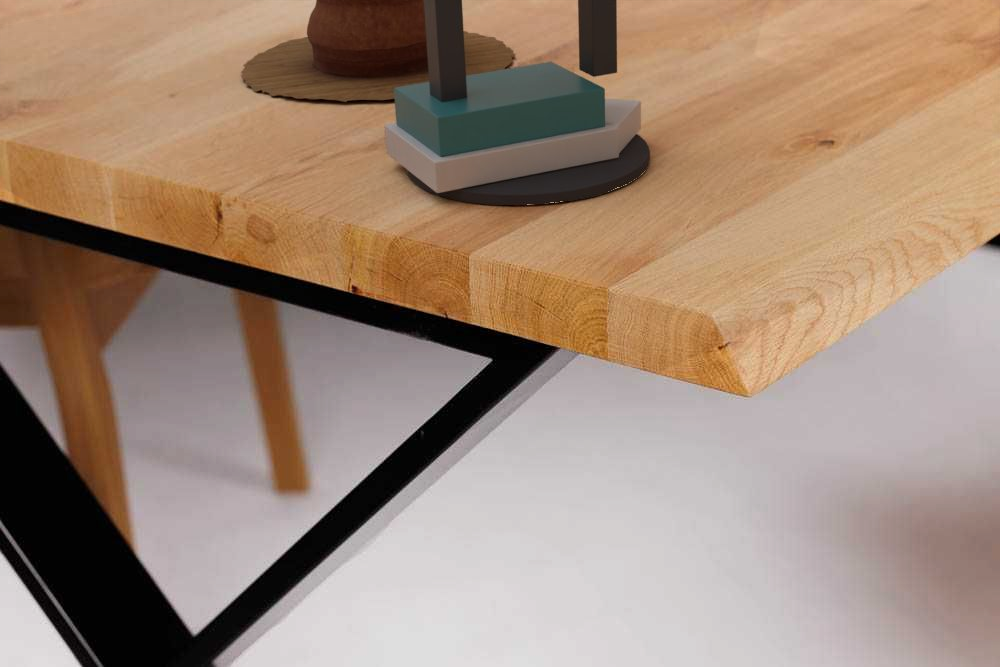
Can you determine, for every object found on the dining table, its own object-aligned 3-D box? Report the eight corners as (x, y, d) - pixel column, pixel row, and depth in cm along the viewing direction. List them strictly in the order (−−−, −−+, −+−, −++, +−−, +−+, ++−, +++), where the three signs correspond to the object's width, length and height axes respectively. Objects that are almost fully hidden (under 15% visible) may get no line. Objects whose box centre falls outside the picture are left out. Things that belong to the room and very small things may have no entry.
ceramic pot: (478, 108, 84) (471, -14, 81) (195, 101, 88) (179, -15, 85) (538, 31, 100) (535, -73, 97) (296, 28, 104) (286, -72, 101)
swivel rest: (359, 164, 76) (358, 153, 76) (539, 111, 83) (539, 101, 83) (512, 226, 67) (512, 214, 67) (700, 161, 74) (700, 149, 74)
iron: (437, 193, 69) (420, -52, 64) (386, 153, 75) (367, -75, 70) (674, 147, 74) (676, -86, 69) (609, 112, 80) (607, -104, 75)
